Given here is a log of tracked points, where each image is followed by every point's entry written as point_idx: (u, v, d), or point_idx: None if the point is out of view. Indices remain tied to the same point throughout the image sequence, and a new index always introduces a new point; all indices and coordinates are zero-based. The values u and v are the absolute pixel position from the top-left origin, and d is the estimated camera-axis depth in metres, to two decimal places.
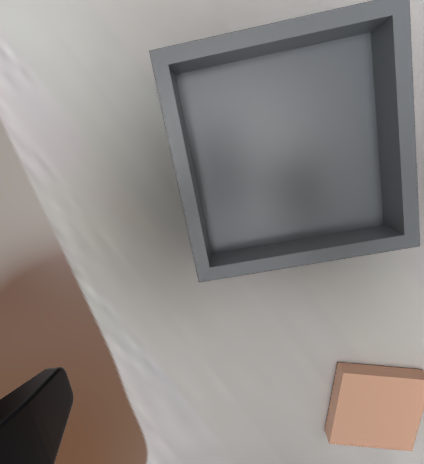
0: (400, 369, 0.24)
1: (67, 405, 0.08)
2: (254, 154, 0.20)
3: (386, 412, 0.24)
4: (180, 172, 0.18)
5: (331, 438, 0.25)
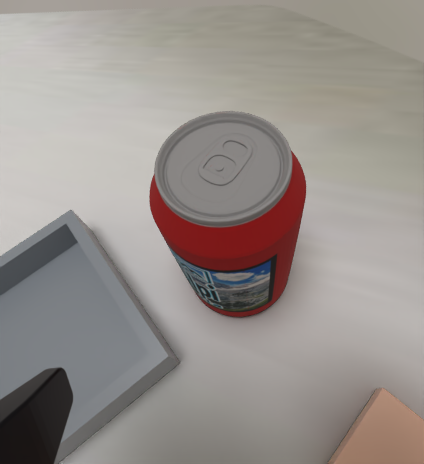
0: None
1: (67, 405, 0.08)
2: (22, 359, 0.22)
3: None
4: None
5: None
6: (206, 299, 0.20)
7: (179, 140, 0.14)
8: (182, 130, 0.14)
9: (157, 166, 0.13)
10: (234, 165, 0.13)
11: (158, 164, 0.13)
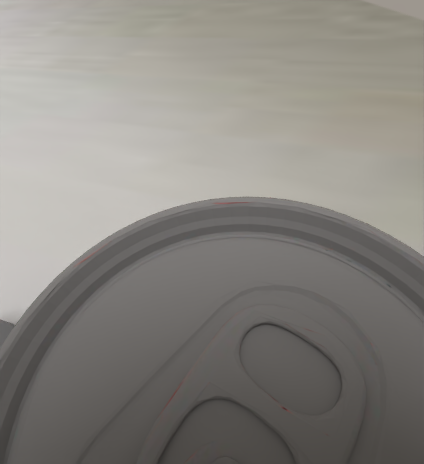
0: None
1: None
2: None
3: None
4: None
5: None
6: None
7: (83, 300, 0.04)
8: (93, 266, 0.04)
9: None
10: None
11: None
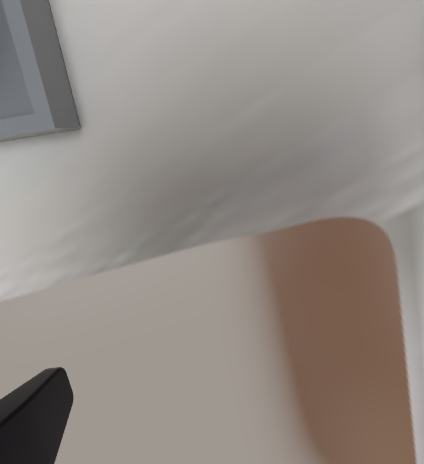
0: None
1: (67, 405, 0.08)
2: None
3: None
4: None
5: None
6: None
7: None
8: None
9: None
10: None
11: None
